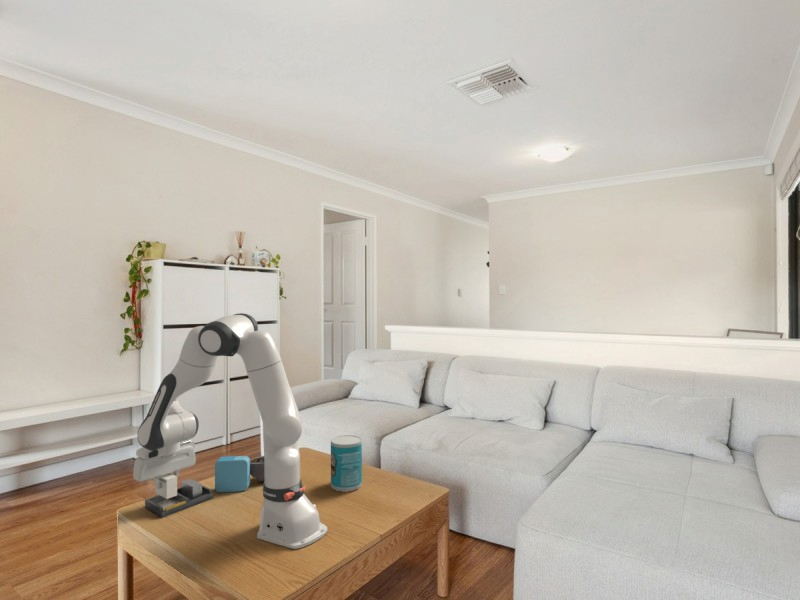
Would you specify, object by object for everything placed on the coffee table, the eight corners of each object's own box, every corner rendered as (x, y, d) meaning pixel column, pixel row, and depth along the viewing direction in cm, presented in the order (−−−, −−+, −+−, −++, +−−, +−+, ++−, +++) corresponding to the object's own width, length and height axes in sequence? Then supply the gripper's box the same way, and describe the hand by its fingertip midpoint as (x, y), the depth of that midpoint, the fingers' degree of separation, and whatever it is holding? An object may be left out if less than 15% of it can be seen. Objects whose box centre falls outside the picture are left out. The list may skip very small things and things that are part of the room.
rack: (213, 498, 166) (213, 482, 166) (162, 518, 152) (161, 500, 152) (195, 490, 174) (195, 474, 174) (145, 508, 159) (144, 491, 159)
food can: (325, 489, 174) (324, 442, 174) (340, 477, 185) (340, 433, 185) (352, 494, 169) (352, 446, 169) (367, 482, 180) (367, 436, 180)
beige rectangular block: (177, 495, 158) (177, 476, 158) (166, 499, 155) (166, 479, 155) (165, 489, 162) (165, 471, 162) (155, 493, 160) (155, 474, 160)
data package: (250, 486, 177) (250, 455, 177) (247, 491, 173) (247, 459, 172) (218, 487, 176) (218, 456, 176) (214, 492, 171) (214, 461, 171)
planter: (243, 485, 178) (242, 434, 178) (267, 469, 194) (267, 422, 194) (276, 489, 174) (276, 437, 173) (298, 473, 190) (298, 425, 189)
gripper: (189, 437, 169) (189, 474, 169) (131, 452, 152) (131, 493, 152) (199, 440, 165) (199, 478, 165) (140, 456, 149) (140, 498, 149)
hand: (166, 485), depth 159 cm, fingers closed on beige rectangular block, 3 cm apart
